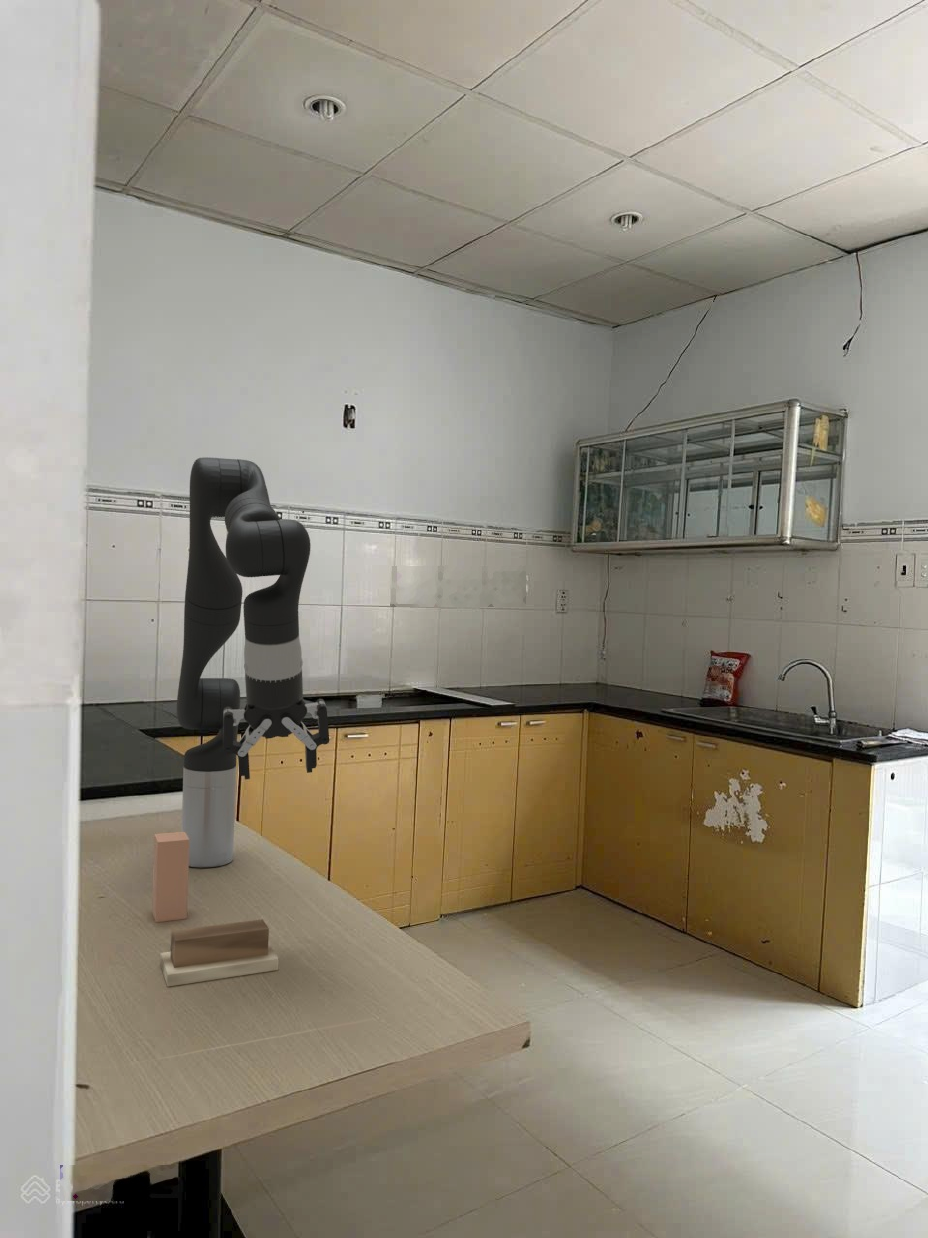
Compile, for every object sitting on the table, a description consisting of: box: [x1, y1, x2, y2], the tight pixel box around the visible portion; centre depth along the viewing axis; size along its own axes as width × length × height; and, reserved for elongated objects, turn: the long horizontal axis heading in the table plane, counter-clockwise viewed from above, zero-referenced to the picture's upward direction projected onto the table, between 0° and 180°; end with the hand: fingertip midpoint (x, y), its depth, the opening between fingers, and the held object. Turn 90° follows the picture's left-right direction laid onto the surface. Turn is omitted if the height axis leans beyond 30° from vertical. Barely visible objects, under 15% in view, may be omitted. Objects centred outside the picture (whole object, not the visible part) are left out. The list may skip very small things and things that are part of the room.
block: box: [151, 831, 190, 923], centre depth 133 cm, size 4×4×12 cm
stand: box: [160, 918, 280, 987], centre depth 117 cm, size 7×14×5 cm, turn 116°
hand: (278, 773), depth 124 cm, fingers open, 8 cm apart
